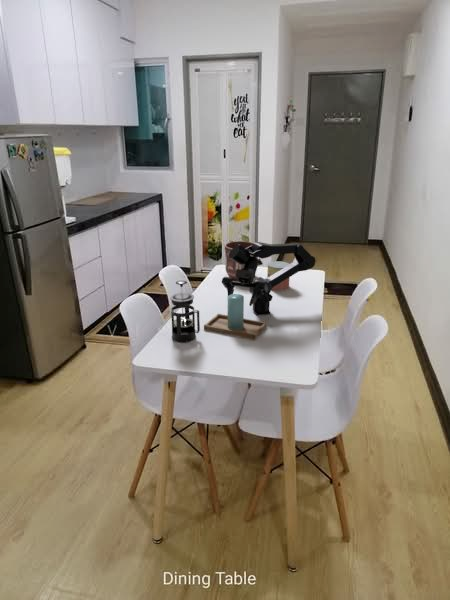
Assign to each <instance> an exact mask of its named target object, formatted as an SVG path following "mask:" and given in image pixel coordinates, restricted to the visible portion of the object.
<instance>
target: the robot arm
mask: <svg viewBox="0 0 450 600" xmlns="http://www.w3.org/2000/svg"><path fill="white" fill-rule="evenodd" d="M253 243H254V244H253V245H252V246H250V247H248V248H243V246H241V245H240V244H238V245H237V246H236V247H234V248H233V249H231V251H230V253H229V258H231V259H232V260H234V261H235V262H237V263H238V264H240V265H242V264H244V266H243V268H241V270H240V269H236V274H235V277H237V280H233V278H230V277H229V276H223V277H222V279H221V284H222V285H223V286H224V288H226V290H227V297H228V296H229V295H231V294H234V292H235V287H241V288H248V290H249V293H250V294H251V297H250V300H249V303H248V304H249V306H250V307H252V311H253V312H254V313H255V315H257V316H259V315H269V314H271V310H270V305H271V304H270V302H271V301H272V300H273V295H272V294H271V291H273V290H272V288H273V287H275V286H276V285H278V284H279V283H281V282H283V281H284V280H286V279H287V278H289V279H290V278H291V277H292V276H294V275H296V274H297V273H299V272H304V271H308V270H310V269H312V268H315V267H314V266H315V265H316V261H317V260H316V257H315V256H314V255H312V254H310V252H308V250H306V249H305V248H304V246H303V245H302V244H301V243H298V242H292V243H291V242H289V243H271V244H270V243H265V242H260V241H255V242H253ZM285 254H286V255H287V254H293V256H294V259H293V261H292V262H291V263H289V265H288V266H286V267H285V268H283V269H281V270H280V271H278V272H276V273H275V274H273V275H271V276H270V277H268V278H263V277H262V276H259V277H257V278H256V273H257V269H258V266H262V265H263V264H264V263H263V261H262V259H267V258H270V257H272V256H274V255H285ZM250 255H252V256H250ZM254 279H255V280H254ZM238 280H239V281H238Z"/></svg>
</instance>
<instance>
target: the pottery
mask: <svg viewBox="0 0 450 600" xmlns="http://www.w3.org/2000/svg"><path fill="white" fill-rule="evenodd" d="M254 243H255V242H250V241H243V240H241V241H240V240H239V241H235V240H234V241H231V242H230V241H229V242H227V243H225V244H224V253H225V272H226V274H227V277H230V278H233V280H234V281H238V282H239V280H237V277H235V274H236V269H240V270H241V268H243V266H244V264H242V265H240V264H238V263H237V262H235V261H234V260H232V259H231V258H229V253H230V251H231V249H233V248H234V247H236V246H237V245H238V244H240V245H241V246H243V248H248V247H250V246H252V245H253V244H254ZM250 256H252V255H250Z"/></svg>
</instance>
